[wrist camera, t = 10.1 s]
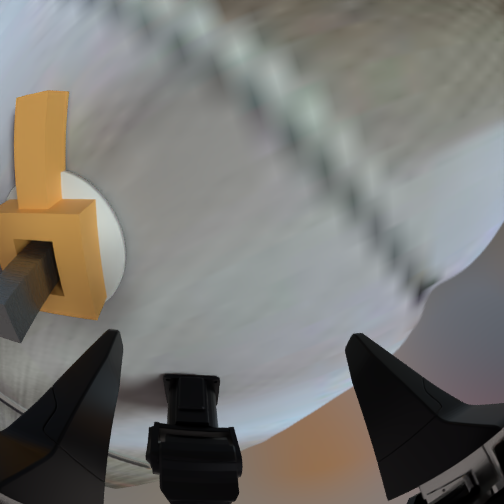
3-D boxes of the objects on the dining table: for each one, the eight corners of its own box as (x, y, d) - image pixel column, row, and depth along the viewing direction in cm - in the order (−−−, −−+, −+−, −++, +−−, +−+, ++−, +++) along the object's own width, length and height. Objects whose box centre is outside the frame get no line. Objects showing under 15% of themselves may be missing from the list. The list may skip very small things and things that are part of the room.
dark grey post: (68, 266, 19) (20, 343, 11) (47, 263, 18) (-4, 335, 10) (63, 233, 17) (3, 304, 10) (41, 231, 17) (-21, 297, 9)
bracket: (132, 312, 23) (124, 342, 19) (24, 297, 20) (8, 320, 17) (131, 86, 14) (112, 80, 11) (-2, 107, 12) (-30, 112, 8)
